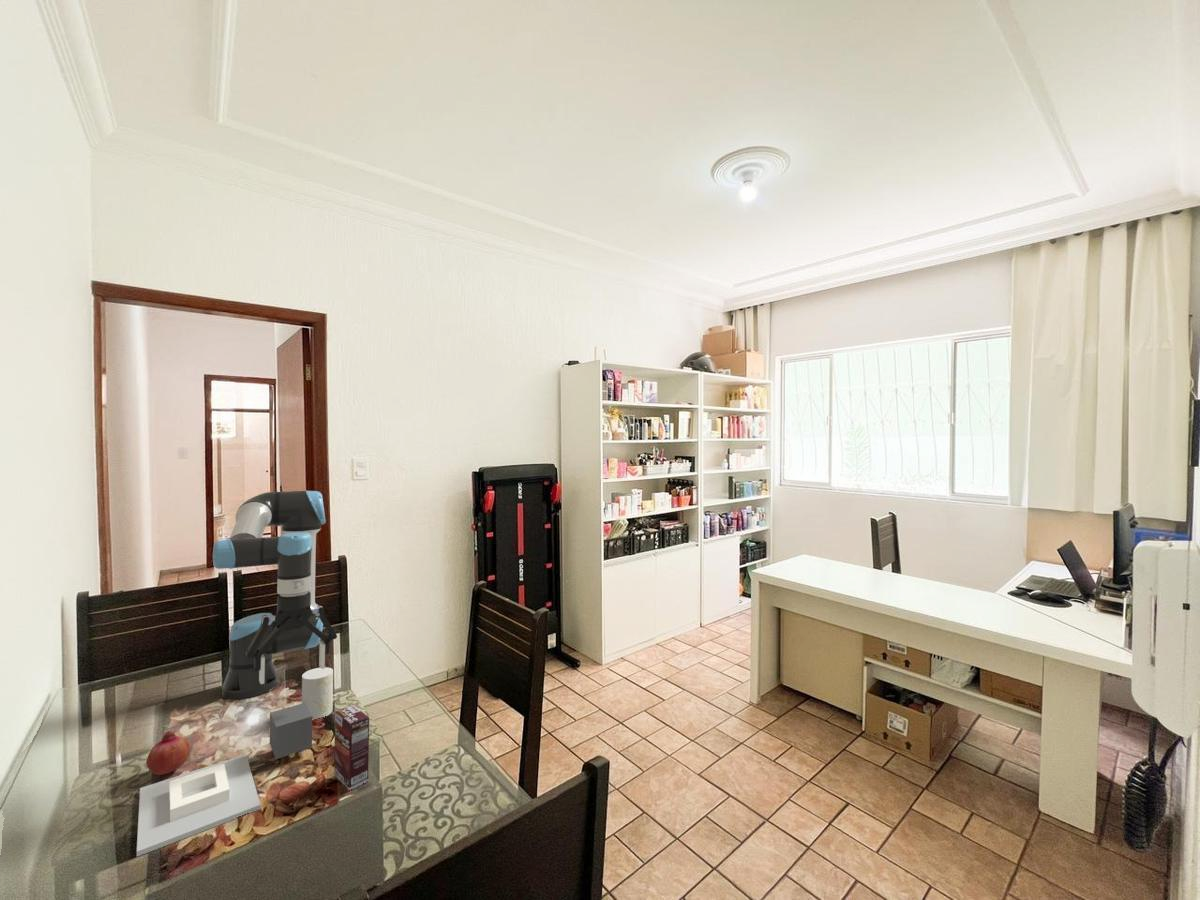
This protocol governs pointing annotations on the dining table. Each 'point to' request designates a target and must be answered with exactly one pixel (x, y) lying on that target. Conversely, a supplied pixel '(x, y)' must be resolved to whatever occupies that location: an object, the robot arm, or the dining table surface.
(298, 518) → the robot arm
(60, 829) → the dining table surface
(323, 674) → the white cylinder
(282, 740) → the plug
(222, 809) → the socket
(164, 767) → the fruit
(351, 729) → the supplement box
